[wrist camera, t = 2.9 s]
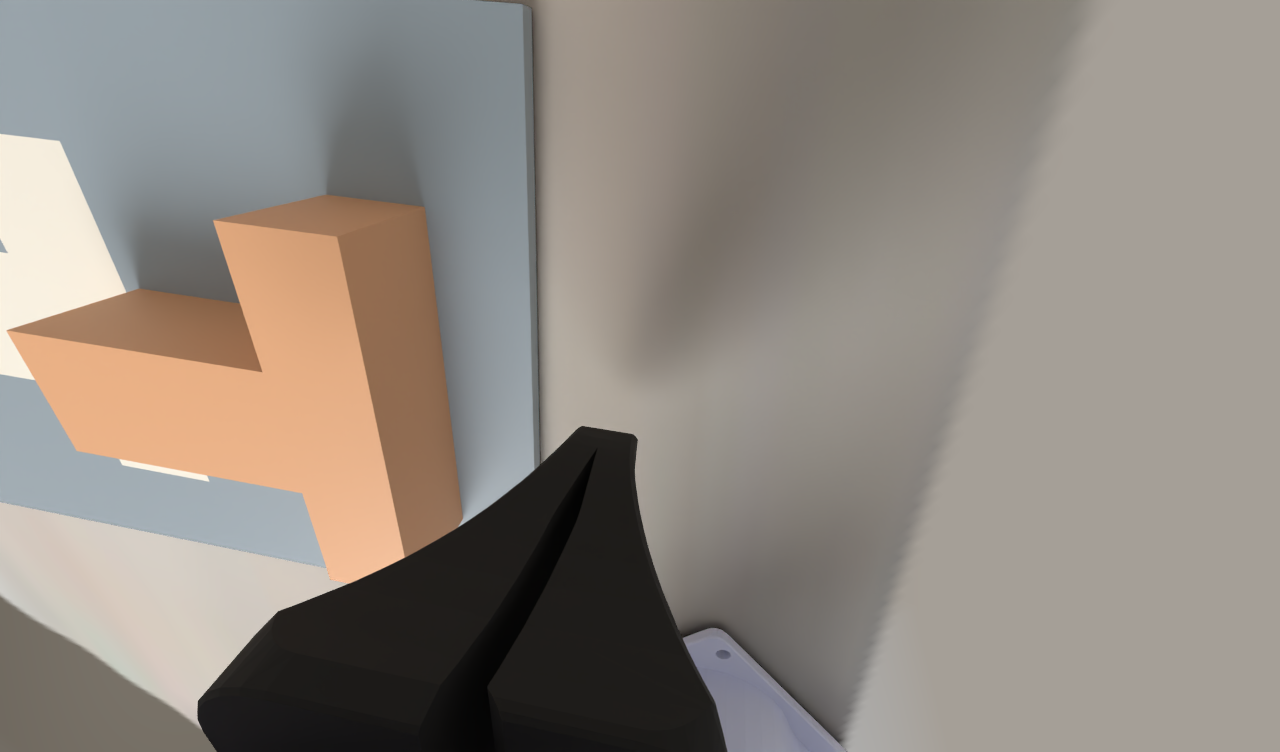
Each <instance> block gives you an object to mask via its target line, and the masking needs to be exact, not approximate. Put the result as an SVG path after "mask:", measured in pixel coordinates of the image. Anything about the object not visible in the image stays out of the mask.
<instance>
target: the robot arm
mask: <svg viewBox="0 0 1280 752" xmlns="http://www.w3.org/2000/svg"><path fill="white" fill-rule="evenodd" d="M637 441H638V439H637V438H636V437H635V436H634V435H633V434H628V433H622V432H616V431H610V430H603V429H597V428H591V427H585V426H581V427H580V428H578V429H577V430H576V431H575V432H574V433H573V434H572V435H571V436H570V437H569V438H568V439H567V440H566V441H565V442H564V443H563V444H562V445H561V446H560V447H559V448H558V449H557V450H556V451H555V452H554V453H552V454H551V455H550V456H549V457H548V458H547V459H546V460H545V461H544V462H543V463H542V464H540V465H539V466H538V467H537V468H536V469H535V470H534V471H532V472H531V473H530V474H529V475H528V476H527V477H526V478H524V479H523V480H522V481H521V482H520V483H518V484H517V485H516V486H515V487H513V488H512V489H511V490H509V491H508V492H507V493H506V494H504V495H503V496H502V497H501V498H499V499H498V500H497V501H495V502H494V503H493V504H491V505H490V506H489V507H487V508H486V509H484V510H483V511H482V512H480V513H479V514H477V515H476V516H474V517H473V518H471V519H470V520H468V521H467V522H465V523H464V524H462V525H461V526H459V527H458V528H456V529H454V530H453V531H451V532H449V533H448V534H446V535H444V536H443V537H441V538H439V539H438V540H436V541H434V542H432V543H430V544H429V545H427V546H425V547H423V548H421V549H420V550H418V551H416V552H414V553H413V554H411V555H409V556H407V557H405V558H403V559H401V560H399V561H397V562H395V563H393V564H391V565H389V566H387V567H385V568H382V569H380V570H378V571H376V572H374V573H372V574H369V575H367V576H365V577H363V578H361V579H359V580H356V581H354V582H352V583H349V584H347V585H345V586H342V587H340V588H337V589H335V590H332V591H330V592H327V593H325V594H322V595H320V596H317V597H315V598H312V599H310V600H307V601H304V602H302V603H299V604H297V605H294V606H292V607H289V608H286V609H283V610H281V611H278V612H277V613H276V614H275V615H274V616H273V617H272V618H271V619H270V620H269V621H268V622H267V623H266V624H265V625H264V627H263V628H262V629H261V630H260V631H259V632H258V633H257V634H256V635H255V636H254V637H253V638H252V639H251V640H250V642H249V643H248V644H247V645H246V646H245V647H244V649H243V650H242V651H241V652H240V653H239V654H238V655H237V657H236V658H235V659H234V660H233V661H232V662H231V664H230V665H229V666H228V667H227V668H226V669H225V670H224V672H223V673H222V674H221V675H220V676H219V677H218V679H217V680H216V681H215V682H214V683H213V684H212V685H211V687H210V688H209V689H208V690H207V691H206V692H205V693H204V695H203V696H202V697H201V698H200V699H199V700H198V711H197V714H198V721H199V723H200V726H201V728H202V730H203V732H204V733H205V735H206V736H207V738H208V739H209V741H210V742H211V744H212V745H213V747H214V748H215V750H216V751H217V752H847V751H846V750H845V749H844V748H843V747H842V746H841V745H840V744H839V743H838V742H837V741H836V740H835V739H834V738H833V737H832V736H831V735H830V734H829V733H828V732H827V731H826V730H825V729H824V728H823V727H822V726H821V725H820V724H819V723H818V722H817V721H816V720H815V719H814V718H813V717H812V716H811V715H810V714H809V713H807V712H806V711H805V710H804V709H803V708H802V707H801V706H800V705H799V704H798V703H797V702H796V701H795V700H794V699H793V698H792V697H791V696H790V695H789V694H788V693H787V692H786V691H785V690H784V689H783V688H782V687H781V686H780V685H779V684H778V683H777V682H776V681H775V680H774V679H773V678H772V677H771V676H770V675H769V674H768V673H767V672H766V671H765V670H764V669H763V668H762V667H761V666H760V665H759V664H758V663H757V662H755V661H754V660H753V659H752V658H751V657H750V656H749V655H748V654H747V653H746V652H745V651H744V650H743V649H742V648H741V647H740V646H739V645H738V644H737V643H736V642H735V641H734V640H733V639H732V638H731V637H730V636H729V635H728V634H727V633H726V632H724V631H723V630H721V629H718V628H709V629H705V630H703V631H700V632H697V633H694V634H692V635H689V636H686V637H684V638H682V636H681V634H680V632H679V630H678V628H677V625H676V623H675V620H674V618H673V615H672V613H671V611H670V608H669V606H668V603H667V601H666V598H665V596H664V593H663V591H662V588H661V586H660V583H659V580H658V577H657V574H656V571H655V568H654V565H653V562H652V558H651V555H650V552H649V548H648V545H647V541H646V537H645V533H644V529H643V524H642V520H641V515H640V510H639V504H638V498H637V490H636V483H635V460H636V451H637Z"/></svg>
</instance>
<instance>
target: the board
mask: <svg viewBox="0 0 1280 752" xmlns="http://www.w3.org/2000/svg"><path fill="white" fill-rule="evenodd" d="M322 195H333V196H341V197H349V198H357V199H365V200H374V201H382V202H390V203H398V204H406V205H414V206H422V207H425V213H426V221H427V230H428V238H429V246H430V254H431V262H432V270H433V278H434V287H435V295H436V303H437V311H438V319H439V327H440V336H441V344H442V352H443V360H444V368H445V376H446V385H447V393H448V401H449V409H450V417H451V425H452V434H453V442H454V450H455V458H456V466H457V474H458V482H459V491H460V499H461V507H462V515H463V520H462V521H461V523H460V524H459V526H461V525H462V524H464V523H465V522H467V521H468V520H470V519H471V518H473V517H474V516H476V515H477V514H479V513H480V512H482V511H483V510H484V509H486V508H487V507H489V506H490V505H491V504H493V503H494V502H495V501H497V500H498V499H499V498H501V497H502V496H503V495H504V494H506V493H507V492H508V491H509V490H511V489H512V488H513V487H515V486H516V485H517V484H518V483H520V482H521V481H522V480H523V479H524V478H526V477H527V476H528V475H529V474H530V473H531V472H532V471H534V470H535V469H536V468H537V467H538V466H539V465H540V442H539V387H538V332H537V276H536V221H535V166H534V110H533V55H532V8H530V7H528V6H526V5H524V4H516V3H503V2H491V1H479V0H0V502H2V503H7V504H12V505H17V506H22V507H27V508H32V509H37V510H42V511H47V512H52V513H57V514H61V515H66V516H71V517H76V518H81V519H86V520H91V521H96V522H101V523H106V524H111V525H116V526H121V527H126V528H131V529H136V530H140V531H145V532H150V533H155V534H160V535H165V536H170V537H175V538H180V539H185V540H190V541H195V542H200V543H205V544H210V545H215V546H219V547H224V548H229V549H234V550H239V551H244V552H249V553H254V554H259V555H264V556H269V557H274V558H279V559H284V560H289V561H293V562H298V563H303V564H308V565H313V566H318V567H323V568H326V565H325V562H324V559H323V556H322V552H321V549H320V546H319V543H318V540H317V537H316V534H315V531H314V528H313V525H312V522H311V519H310V516H309V513H308V510H307V507H306V504H305V500H304V497H303V494H302V493H298V492H292V491H287V490H282V489H276V488H271V487H266V486H260V485H255V484H250V483H244V482H239V481H234V480H228V479H223V478H218V477H212V476H207V475H202V474H197V473H191V472H186V471H181V470H175V469H170V468H165V467H159V466H154V465H149V464H143V463H138V462H133V461H127V460H122V459H117V458H111V457H106V456H101V455H95V454H90V453H85V452H79V451H76V449H75V447H74V445H73V444H72V442H71V440H70V439H69V437H68V435H67V434H66V432H65V430H64V428H63V427H62V425H61V423H60V422H59V420H58V418H57V416H56V415H55V413H54V411H53V410H52V408H51V406H50V405H49V403H48V401H47V399H46V398H45V396H44V394H43V393H42V391H41V389H40V388H39V386H38V384H37V382H36V381H35V379H34V377H33V376H32V374H31V372H30V370H29V369H28V367H27V365H26V364H25V362H24V360H23V359H22V357H21V355H20V353H19V352H18V350H17V348H16V347H15V345H14V343H13V342H12V340H11V338H10V336H9V335H8V333H7V331H6V330H9V329H12V328H15V327H18V326H22V325H25V324H28V323H31V322H34V321H37V320H41V319H44V318H47V317H50V316H53V315H57V314H60V313H63V312H66V311H69V310H72V309H76V308H79V307H82V306H85V305H88V304H91V303H95V302H98V301H101V300H104V299H107V298H111V297H114V296H117V295H120V294H123V293H126V292H130V291H133V290H136V289H146V290H153V291H159V292H166V293H173V294H179V295H186V296H193V297H199V298H206V299H213V300H219V301H226V302H233V303H239V304H240V302H239V299H238V296H237V292H236V289H235V286H234V283H233V280H232V277H231V274H230V271H229V268H228V265H227V262H226V259H225V256H224V253H223V250H222V247H221V244H220V240H219V237H218V234H217V231H216V228H215V225H214V222H213V220H216V219H221V218H225V217H230V216H234V215H238V214H243V213H247V212H252V211H256V210H260V209H265V208H269V207H274V206H278V205H282V204H287V203H291V202H295V201H300V200H304V199H309V198H313V197H317V196H322ZM459 526H458V527H459Z"/></svg>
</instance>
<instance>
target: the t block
mask: <svg viewBox="0 0 1280 752" xmlns="http://www.w3.org/2000/svg"><path fill="white" fill-rule="evenodd" d="M213 222H214V225H215V228H216V231H217V234H218V237H219V240H220V244H221V247H222V250H223V253H224V256H225V259H226V262H227V265H228V268H229V271H230V274H231V277H232V280H233V283H234V286H235V289H236V292H237V296H238V299H239V302H240V304H239V303H233V302H226V301H219V300H213V299H206V298H199V297H193V296H186V295H179V294H173V293H166V292H159V291H153V290H146V289H136V290H133V291H130V292H126V293H123V294H120V295H117V296H114V297H111V298H107V299H104V300H101V301H98V302H95V303H91V304H88V305H85V306H82V307H79V308H76V309H72V310H69V311H66V312H63V313H60V314H57V315H53V316H50V317H47V318H44V319H41V320H37V321H34V322H31V323H28V324H25V325H22V326H18V327H15V328H12V329H9V330H6V331H7V333H8V335H9V336H10V338H11V340H12V342H13V343H14V345H15V347H16V348H17V350H18V352H19V353H20V355H21V357H22V359H23V360H24V362H25V364H26V365H27V367H28V369H29V370H30V372H31V374H32V376H33V377H34V379H35V381H36V382H37V384H38V386H39V388H40V389H41V391H42V393H43V394H44V396H45V398H46V399H47V401H48V403H49V405H50V406H51V408H52V410H53V411H54V413H55V415H56V416H57V418H58V420H59V422H60V423H61V425H62V427H63V428H64V430H65V432H66V434H67V435H68V437H69V439H70V440H71V442H72V444H73V445H74V447H75V449H76V451H79V452H85V453H90V454H95V455H101V456H106V457H111V458H117V459H122V460H127V461H133V462H138V463H143V464H149V465H154V466H159V467H165V468H170V469H175V470H181V471H186V472H191V473H197V474H202V475H207V476H212V477H218V478H223V479H228V480H234V481H239V482H244V483H250V484H255V485H260V486H266V487H271V488H276V489H282V490H287V491H292V492H298V493H302V494H303V497H304V500H305V504H306V507H307V510H308V513H309V516H310V519H311V522H312V525H313V528H314V531H315V534H316V537H317V540H318V543H319V546H320V549H321V552H322V556H323V559H324V562H325V565H326V568H327V571H328V574H329V577H330V580H335V581H340V582H345V583H352V582H354V581H356V580H359V579H361V578H363V577H365V576H367V575H369V574H372V573H374V572H376V571H378V570H380V569H382V568H385V567H387V566H389V565H391V564H393V563H395V562H397V561H399V560H401V559H403V558H405V557H407V556H409V555H411V554H413V553H414V552H416V551H418V550H420V549H421V548H423V547H425V546H427V545H429V544H430V543H432V542H434V541H436V540H438V539H439V538H441V537H443V536H444V535H446V534H448V533H449V532H451V531H453V530H454V529H456V528H458V526H459V524H460V523H461V521H462V520H463V515H462V507H461V499H460V491H459V482H458V474H457V466H456V458H455V450H454V442H453V434H452V425H451V417H450V409H449V401H448V393H447V385H446V376H445V368H444V360H443V352H442V344H441V336H440V327H439V319H438V311H437V303H436V295H435V287H434V278H433V270H432V262H431V254H430V246H429V238H428V230H427V221H426V213H425V207H422V206H414V205H406V204H398V203H390V202H382V201H374V200H365V199H357V198H349V197H341V196H333V195H322V196H317V197H313V198H309V199H304V200H300V201H295V202H291V203H287V204H282V205H278V206H274V207H269V208H265V209H260V210H256V211H252V212H247V213H243V214H238V215H234V216H230V217H225V218H221V219H216V220H213Z"/></svg>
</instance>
